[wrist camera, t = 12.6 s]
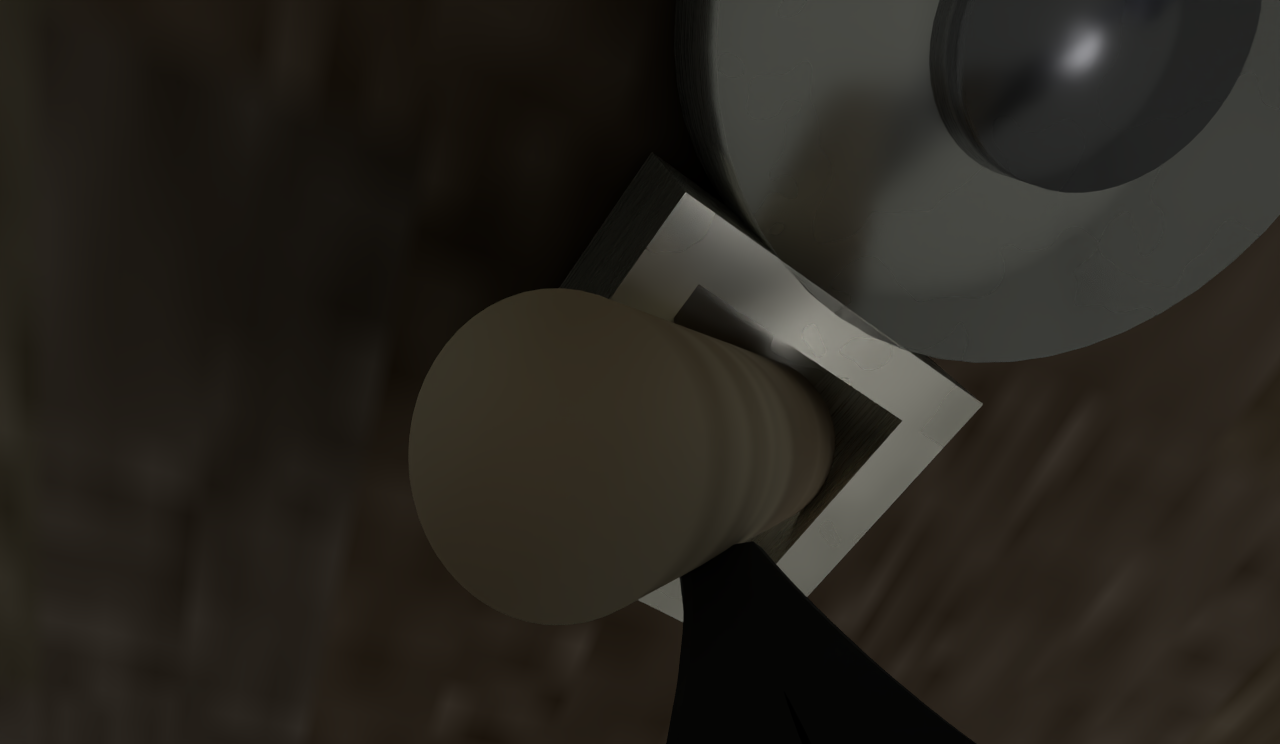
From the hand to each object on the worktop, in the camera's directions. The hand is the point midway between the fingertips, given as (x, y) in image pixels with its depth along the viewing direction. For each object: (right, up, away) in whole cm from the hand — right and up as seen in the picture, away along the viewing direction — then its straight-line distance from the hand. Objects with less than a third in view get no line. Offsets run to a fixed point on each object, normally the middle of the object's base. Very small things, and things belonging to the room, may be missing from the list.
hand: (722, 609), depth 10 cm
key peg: (+1, +2, +5) cm, 5 cm away
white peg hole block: (+3, +7, +5) cm, 9 cm away
